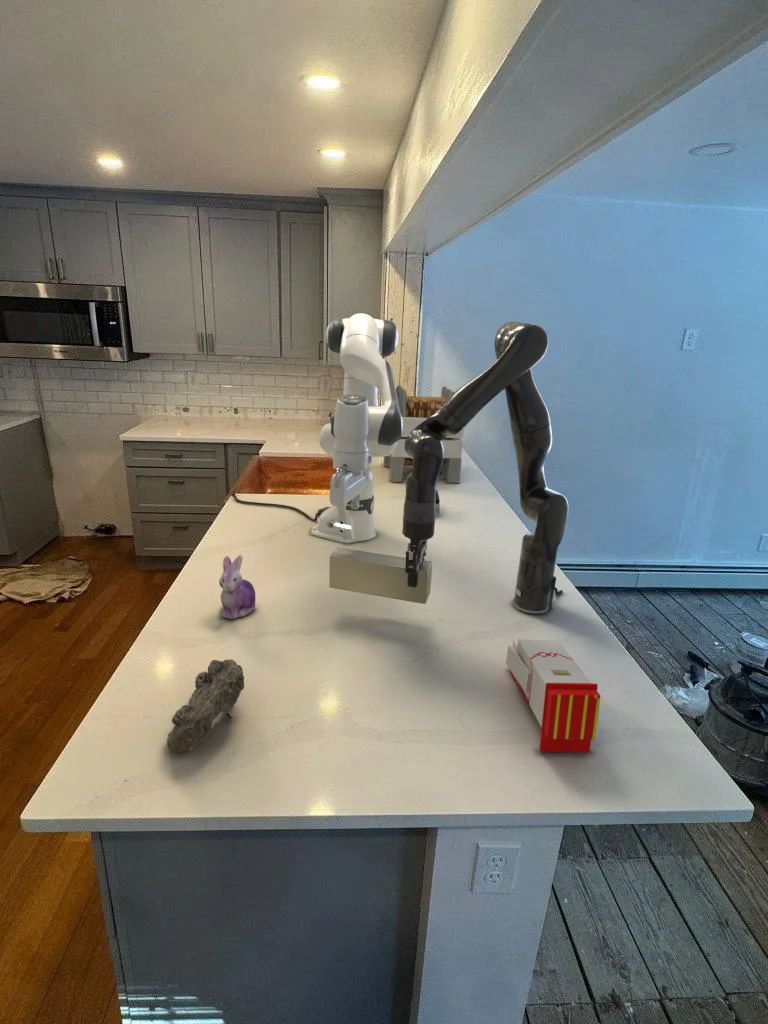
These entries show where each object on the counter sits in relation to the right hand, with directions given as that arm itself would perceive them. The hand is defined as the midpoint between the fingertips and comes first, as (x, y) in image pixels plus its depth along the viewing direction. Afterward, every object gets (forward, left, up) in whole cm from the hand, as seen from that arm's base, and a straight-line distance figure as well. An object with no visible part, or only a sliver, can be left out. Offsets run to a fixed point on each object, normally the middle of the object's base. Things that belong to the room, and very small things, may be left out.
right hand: (415, 580), depth 138 cm
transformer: (-58, -128, -12) cm, 141 cm away
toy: (-14, +36, -12) cm, 40 cm away
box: (+7, -5, -4) cm, 10 cm away
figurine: (+41, -19, -12) cm, 46 cm away
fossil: (+50, +20, -12) cm, 55 cm away
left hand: (+12, -18, +12) cm, 25 cm away
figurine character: (-39, -76, -12) cm, 86 cm away
